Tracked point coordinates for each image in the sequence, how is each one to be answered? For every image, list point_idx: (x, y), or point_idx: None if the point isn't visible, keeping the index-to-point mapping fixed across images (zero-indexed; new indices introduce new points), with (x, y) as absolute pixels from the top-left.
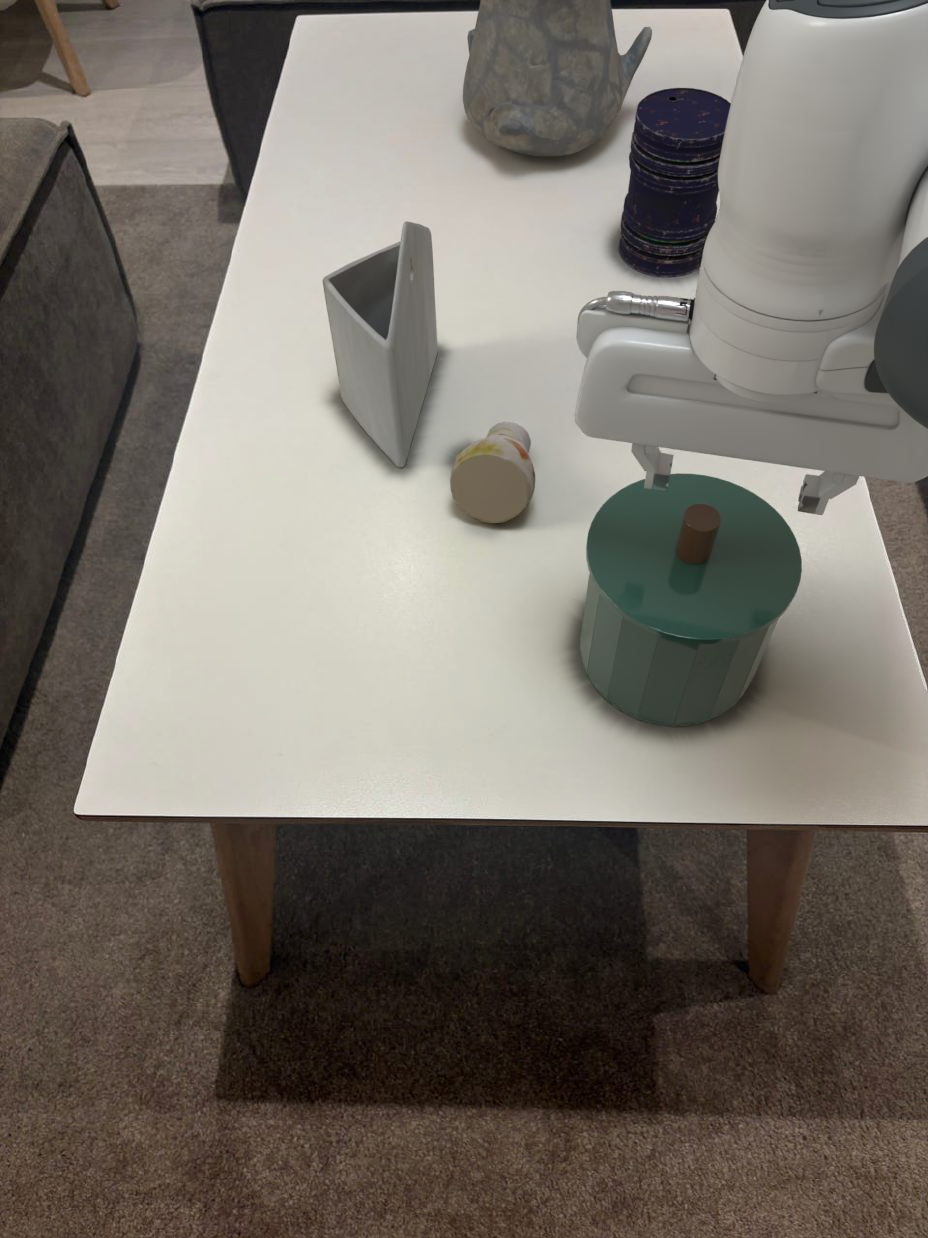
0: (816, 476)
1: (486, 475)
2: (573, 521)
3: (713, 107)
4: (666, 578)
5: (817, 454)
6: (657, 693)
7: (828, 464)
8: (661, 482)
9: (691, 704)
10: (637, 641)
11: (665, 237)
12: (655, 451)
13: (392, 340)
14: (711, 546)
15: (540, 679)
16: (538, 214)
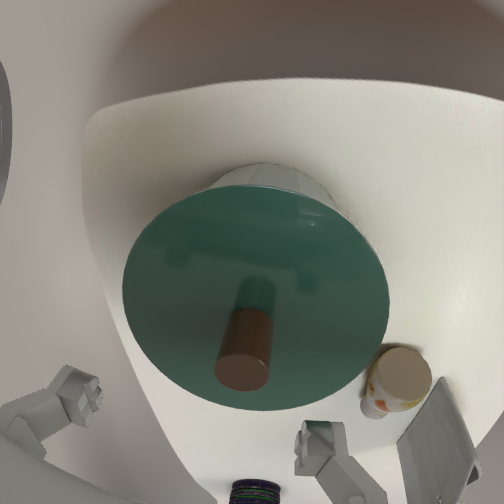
0: (74, 422)
1: (410, 383)
2: None
3: None
4: (289, 286)
5: (16, 489)
6: (283, 173)
7: (5, 460)
8: (319, 437)
9: (247, 169)
10: None
11: (256, 499)
12: (329, 484)
13: (471, 464)
14: (227, 331)
15: (378, 207)
16: (320, 497)
